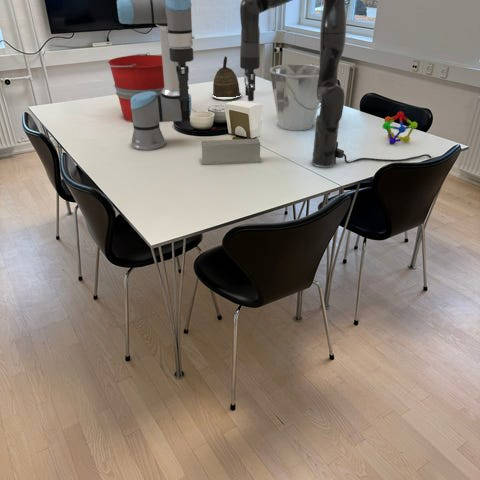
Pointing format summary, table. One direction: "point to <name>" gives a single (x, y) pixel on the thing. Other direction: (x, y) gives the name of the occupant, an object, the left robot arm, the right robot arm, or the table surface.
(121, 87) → the bucket
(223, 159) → the bar
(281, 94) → the bucket
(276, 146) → the table surface
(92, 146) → the table surface
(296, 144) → the table surface
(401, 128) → the educational toy
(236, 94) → the bell
